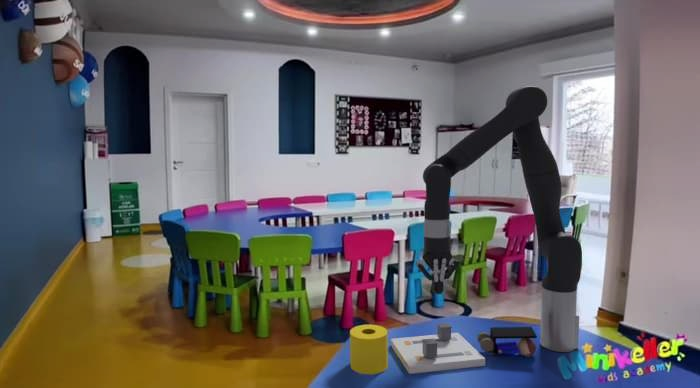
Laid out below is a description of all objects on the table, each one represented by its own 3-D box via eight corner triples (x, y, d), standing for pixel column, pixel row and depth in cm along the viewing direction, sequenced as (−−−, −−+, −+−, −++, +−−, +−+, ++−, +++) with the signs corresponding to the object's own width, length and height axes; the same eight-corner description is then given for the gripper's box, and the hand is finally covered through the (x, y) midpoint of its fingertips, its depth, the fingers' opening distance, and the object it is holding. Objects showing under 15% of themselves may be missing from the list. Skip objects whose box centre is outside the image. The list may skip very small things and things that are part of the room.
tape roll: (391, 359, 131) (391, 326, 130) (382, 376, 121) (382, 340, 120) (356, 355, 134) (356, 323, 133) (345, 371, 124) (345, 336, 123)
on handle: (433, 352, 129) (433, 338, 129) (437, 357, 126) (437, 343, 126) (422, 353, 128) (422, 339, 128) (426, 358, 125) (426, 344, 125)
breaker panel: (457, 339, 144) (457, 332, 143) (485, 365, 126) (485, 358, 126) (390, 345, 140) (390, 338, 140) (409, 373, 122) (409, 366, 122)
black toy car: (482, 364, 130) (539, 360, 128) (479, 337, 130) (537, 333, 128) (478, 353, 137) (533, 349, 135) (476, 328, 136) (530, 323, 134)
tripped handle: (447, 335, 140) (447, 322, 140) (451, 339, 137) (451, 326, 137) (436, 336, 140) (436, 323, 139) (440, 340, 137) (441, 327, 136)
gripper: (453, 230, 140) (454, 287, 142) (410, 233, 138) (411, 291, 139) (464, 235, 133) (464, 295, 134) (419, 238, 130) (420, 299, 132)
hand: (437, 293), depth 137 cm, fingers closed
